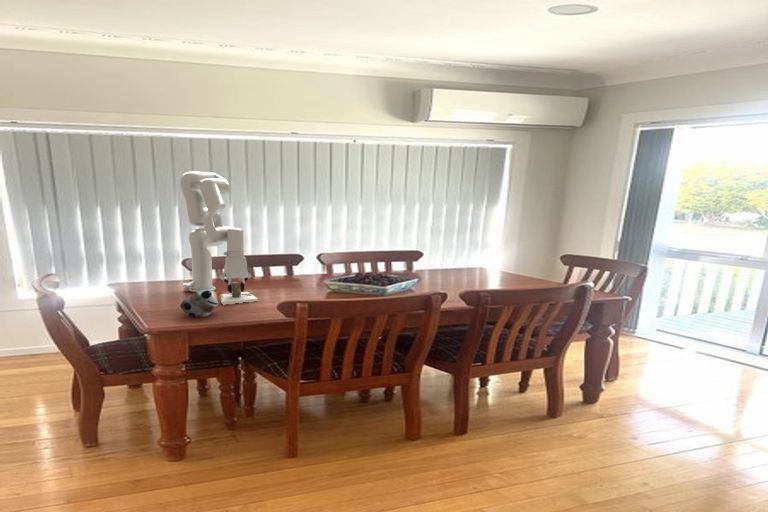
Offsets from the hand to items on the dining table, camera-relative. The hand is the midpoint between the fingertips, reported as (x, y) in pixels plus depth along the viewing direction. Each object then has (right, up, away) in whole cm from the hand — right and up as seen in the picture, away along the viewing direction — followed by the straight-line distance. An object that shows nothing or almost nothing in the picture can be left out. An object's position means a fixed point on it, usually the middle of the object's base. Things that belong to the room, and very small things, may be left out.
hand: (236, 291), depth 242 cm
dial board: (0, -4, +1) cm, 4 cm away
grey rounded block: (-7, -8, -27) cm, 29 cm away
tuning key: (+2, -2, +2) cm, 4 cm away
